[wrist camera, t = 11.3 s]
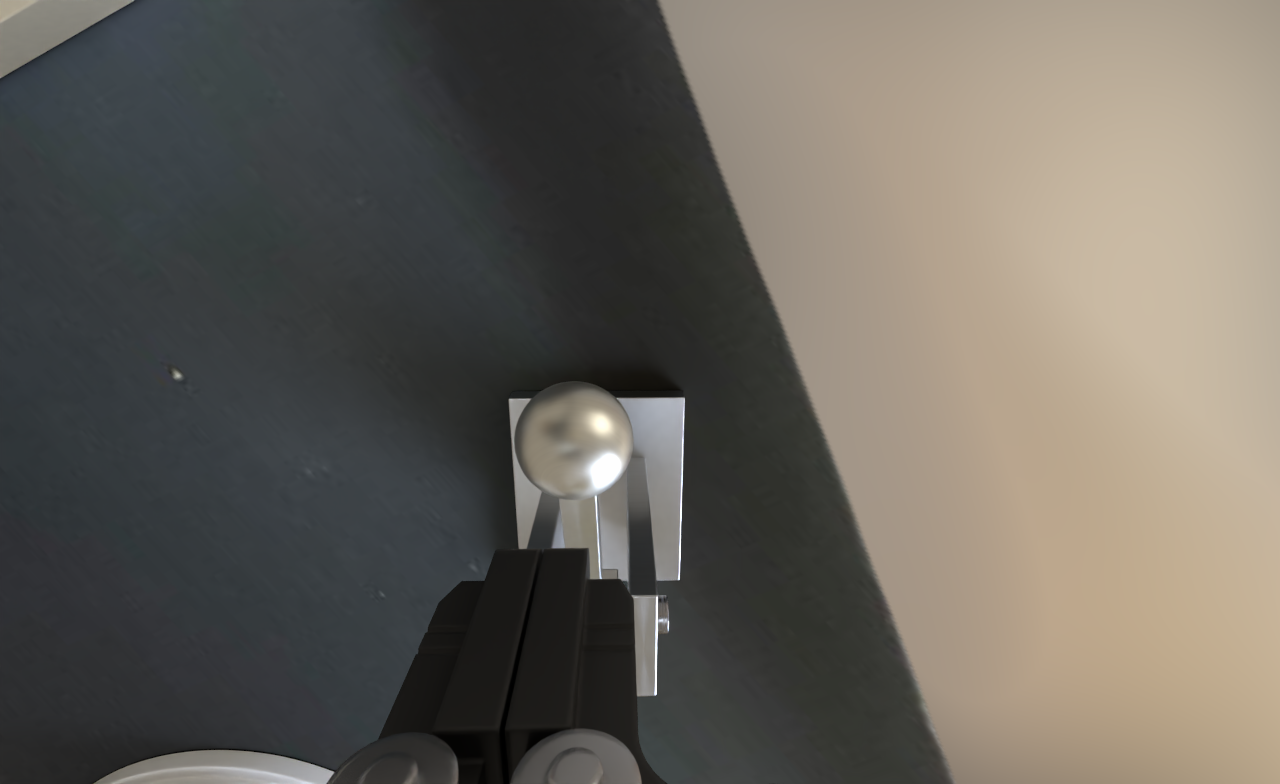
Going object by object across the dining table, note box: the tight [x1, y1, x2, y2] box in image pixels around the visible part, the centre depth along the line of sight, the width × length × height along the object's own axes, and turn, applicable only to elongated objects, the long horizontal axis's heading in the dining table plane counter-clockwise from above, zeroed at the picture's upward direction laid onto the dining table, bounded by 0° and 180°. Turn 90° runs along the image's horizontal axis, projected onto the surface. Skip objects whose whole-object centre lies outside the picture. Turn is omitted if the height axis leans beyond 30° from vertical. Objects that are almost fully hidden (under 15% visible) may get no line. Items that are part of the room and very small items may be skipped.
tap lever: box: [514, 381, 634, 579], centre depth 20 cm, size 13×3×3 cm, turn 0°
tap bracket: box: [508, 391, 685, 696], centre depth 28 cm, size 11×9×13 cm
